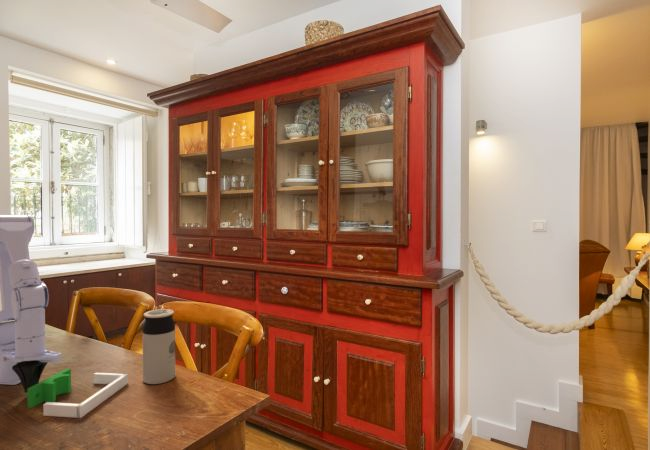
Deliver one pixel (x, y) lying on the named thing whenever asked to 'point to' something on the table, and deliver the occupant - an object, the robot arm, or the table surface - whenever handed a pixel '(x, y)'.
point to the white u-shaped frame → (82, 409)
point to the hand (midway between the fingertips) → (31, 390)
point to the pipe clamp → (49, 388)
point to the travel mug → (158, 346)
